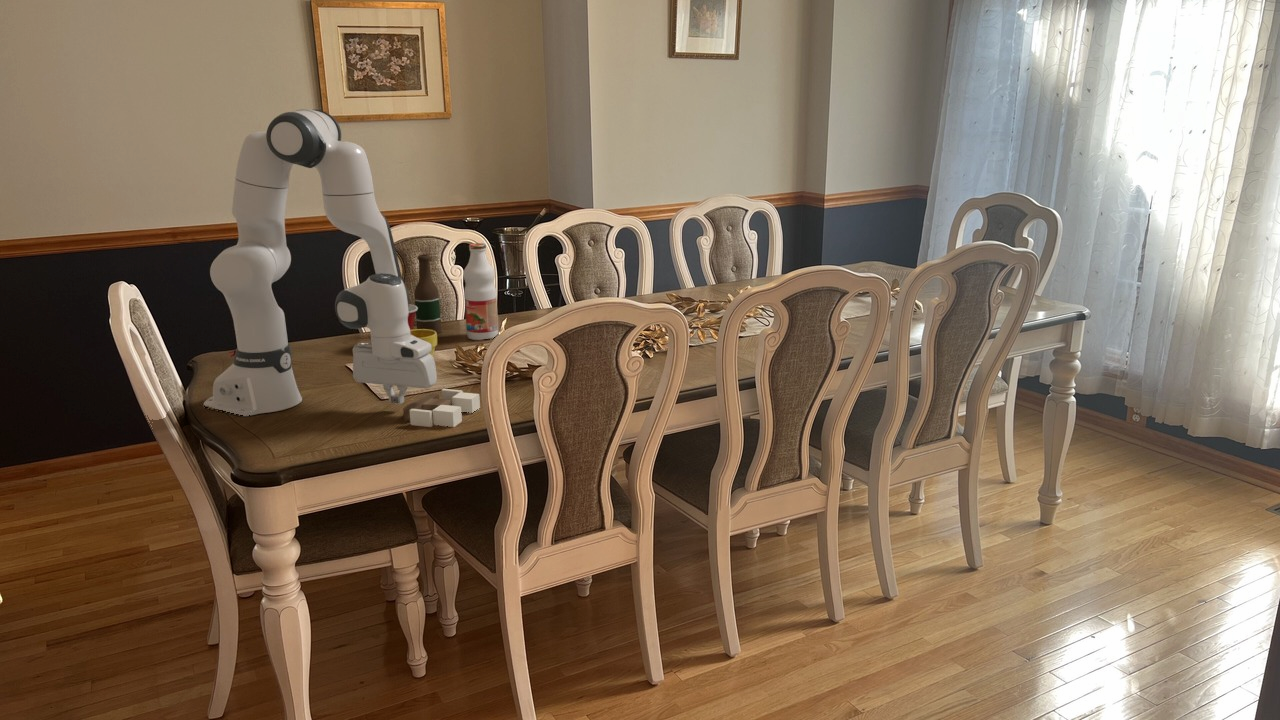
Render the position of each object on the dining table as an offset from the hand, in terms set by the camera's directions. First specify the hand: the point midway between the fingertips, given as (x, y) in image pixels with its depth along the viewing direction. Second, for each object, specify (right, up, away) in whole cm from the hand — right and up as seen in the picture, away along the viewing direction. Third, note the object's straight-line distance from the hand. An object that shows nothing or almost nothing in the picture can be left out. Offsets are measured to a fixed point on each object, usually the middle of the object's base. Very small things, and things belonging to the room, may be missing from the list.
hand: (396, 402), depth 216 cm
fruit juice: (+9, +17, +63) cm, 66 cm away
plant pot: (-2, +7, +32) cm, 33 cm away
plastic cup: (-13, +14, +53) cm, 57 cm away
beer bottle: (-8, +18, +68) cm, 71 cm away
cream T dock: (+12, -3, -3) cm, 13 cm away
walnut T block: (+8, -2, -2) cm, 8 cm away
